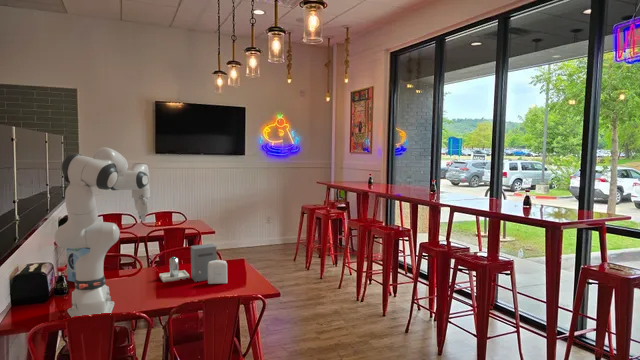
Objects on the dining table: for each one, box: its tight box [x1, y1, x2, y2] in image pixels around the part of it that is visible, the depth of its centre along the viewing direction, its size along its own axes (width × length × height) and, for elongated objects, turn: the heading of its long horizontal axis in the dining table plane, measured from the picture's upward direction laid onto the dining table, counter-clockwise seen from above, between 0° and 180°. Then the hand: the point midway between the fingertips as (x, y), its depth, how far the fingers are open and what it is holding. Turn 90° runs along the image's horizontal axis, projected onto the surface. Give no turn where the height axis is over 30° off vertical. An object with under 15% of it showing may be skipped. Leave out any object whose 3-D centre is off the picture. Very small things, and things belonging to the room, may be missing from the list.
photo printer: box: [207, 259, 228, 285], centre depth 230 cm, size 10×4×12 cm, turn 98°
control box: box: [190, 243, 218, 283], centre depth 239 cm, size 9×12×18 cm
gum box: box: [65, 248, 90, 283], centre depth 233 cm, size 20×5×23 cm, turn 66°
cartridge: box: [168, 256, 180, 278], centre depth 241 cm, size 5×5×11 cm
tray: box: [158, 269, 191, 283], centre depth 241 cm, size 12×14×2 cm
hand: (142, 220), depth 229 cm, fingers open, 8 cm apart
